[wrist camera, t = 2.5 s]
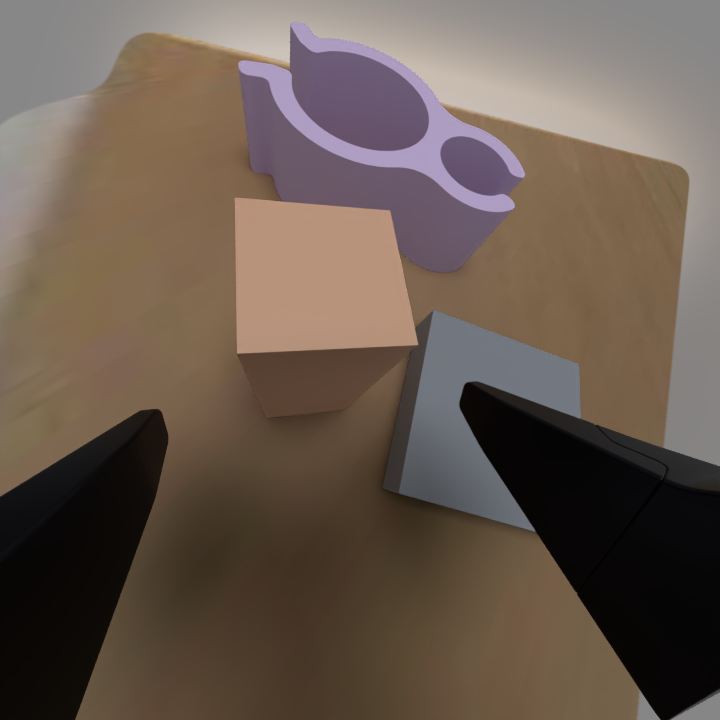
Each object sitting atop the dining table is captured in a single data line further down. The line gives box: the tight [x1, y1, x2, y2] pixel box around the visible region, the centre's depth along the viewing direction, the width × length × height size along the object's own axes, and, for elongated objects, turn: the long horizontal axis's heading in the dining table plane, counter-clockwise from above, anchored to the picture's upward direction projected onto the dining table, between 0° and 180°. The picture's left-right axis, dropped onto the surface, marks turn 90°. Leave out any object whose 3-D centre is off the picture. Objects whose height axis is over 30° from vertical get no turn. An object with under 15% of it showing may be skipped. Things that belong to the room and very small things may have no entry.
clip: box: [238, 22, 525, 272], centre depth 23 cm, size 20×12×7 cm, turn 65°
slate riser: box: [382, 310, 581, 532], centre depth 20 cm, size 12×12×3 cm
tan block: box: [235, 198, 418, 418], centre depth 14 cm, size 5×5×12 cm
